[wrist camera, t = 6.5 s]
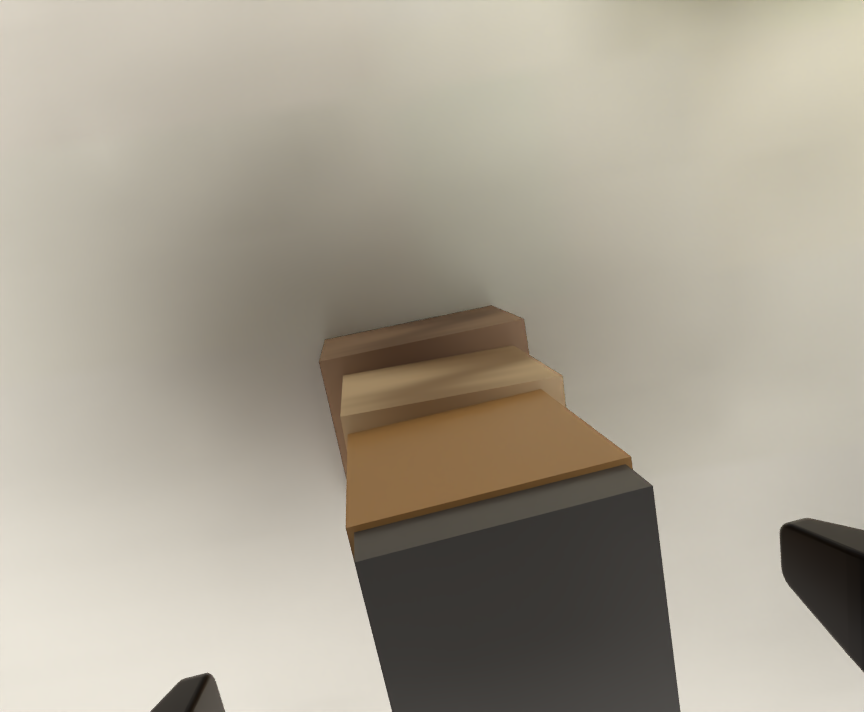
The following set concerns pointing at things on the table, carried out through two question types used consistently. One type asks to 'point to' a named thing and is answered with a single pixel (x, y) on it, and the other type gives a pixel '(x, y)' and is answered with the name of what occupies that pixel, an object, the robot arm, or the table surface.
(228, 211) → the table surface
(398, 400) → the oak block
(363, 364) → the walnut block
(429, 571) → the grey-faced wooden cube
